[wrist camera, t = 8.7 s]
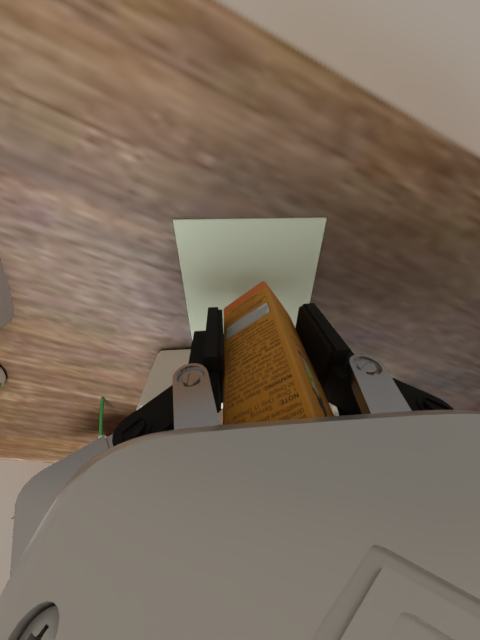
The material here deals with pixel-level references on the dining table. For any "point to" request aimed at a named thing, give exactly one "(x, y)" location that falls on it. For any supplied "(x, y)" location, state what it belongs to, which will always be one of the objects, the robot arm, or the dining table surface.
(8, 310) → the lumpy-topped squat cylinder
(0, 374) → the supplement bottle
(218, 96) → the dining table surface
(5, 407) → the dining table surface
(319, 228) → the mat
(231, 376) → the supplement box
